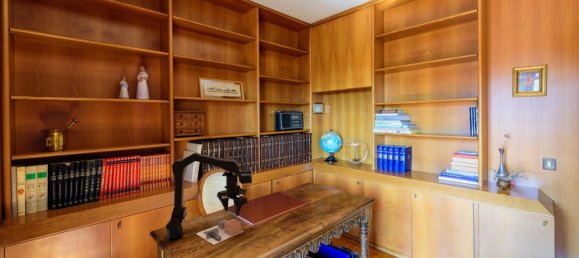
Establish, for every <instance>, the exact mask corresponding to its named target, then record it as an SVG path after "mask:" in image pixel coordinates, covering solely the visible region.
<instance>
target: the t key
mask: <svg viewBox="0 0 579 258" xmlns="http://www.w3.org/2000/svg"><path fill="white" fill-rule="evenodd" d="M211 237H215V238H217V239H218V240H220V239H221V236H219V235H218V228H215V229H212V230H210V231H207V232H206V238H207V239H209V238H211Z"/></svg>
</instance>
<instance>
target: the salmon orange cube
mask: <svg viewBox="0 0 579 258" xmlns="http://www.w3.org/2000/svg"><path fill="white" fill-rule="evenodd" d="M241 230H242V221H239V220H238V219H236V218H232V219H230V220H229V219H228V220H227V221H226V222H224V232H226V233H228V234H230V235H233V234H236V233H238V232H240V231H241Z"/></svg>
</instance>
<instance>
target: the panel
mask: <svg viewBox="0 0 579 258" xmlns="http://www.w3.org/2000/svg"><path fill="white" fill-rule="evenodd" d="M226 221H228V220H227V219H225V218H224V219H221V220H219V221H217V225H215V226H212V227H210V228H207V229H204V230H202V231H199V232H197V233H195V234H196V235H197V236H199V237H200V238H202V239H204V240H205V241H207V242H208V243H210V244H211V245H216V244H219V243H221V242H223V241H225V240H227V239H230V238H232V237H234V236H236V235H238V234H242V233H244V230H242V229H241V231H240V232H238V233H236V234H233V235H230V234H228V233H226V232H224V222H226ZM215 228H218V235H219V236H221V239H220V240H218V239H217V238H215V237H211V238H209V239H207V238H206V232H207V231H210V230H212V229H215Z"/></svg>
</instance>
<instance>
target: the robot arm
mask: <svg viewBox="0 0 579 258" xmlns="http://www.w3.org/2000/svg"><path fill="white" fill-rule="evenodd" d="M195 162H198V163H202V164H206V165H210V166H215V167H218V168H220V169H221V170H224V172H223V173H222V177H226V178H225V185H224V190H221V191H217V193H216V198H218V200H219V202H220V204H221V206H222V207H223V209H224V211H225V212H228V210H229V201H230V200H232V201H233V209H234V213H235V216H236V217H238V216H240V212H241V209H242V207H243V206H244V205H246V204H247V203H248V200H249V199H248V198H247V196H246V195H247V191H248V189H246V188H243V187H241V185H247V184H249V185H250V184H253V177H252V176H253V175H252V170H249V169H248V170H242V169H241V168H240V166H239V165H238V162H237V160H236V159H233V158H219V157H217V156H216V157H215V156H212V155H207V154H204V153H199V152H196V151H194V152H193V153H192V154H190V155H188V156H187V157H184V158H179V159H177V160H175V161H174V162H173V163H172V165H171V170H172V175H173V177H174V192H173V193H174V195H173V197H174V198H173V208H172V212H171V216H170V219H169V220H168V222H167V223H166V225H165V228H166V236H165V239H166V240H168V241H169V242H170V243H172V242H175V241H177V240H180V239H182V238H184V237H183V234H184V233H183V231H184V229H183V226H182V225H183V224H182V223H183V222H184V221H185V219H186V216H187V215H188V213H187V210H188V207H187V206H184V205H185V204H184V193H185V191H184V189H185V186H184V185H185V175H186V173H187V169H188V166H190V165H192V164H193V163H195ZM238 183H240V184H241V185H239V184H238Z"/></svg>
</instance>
